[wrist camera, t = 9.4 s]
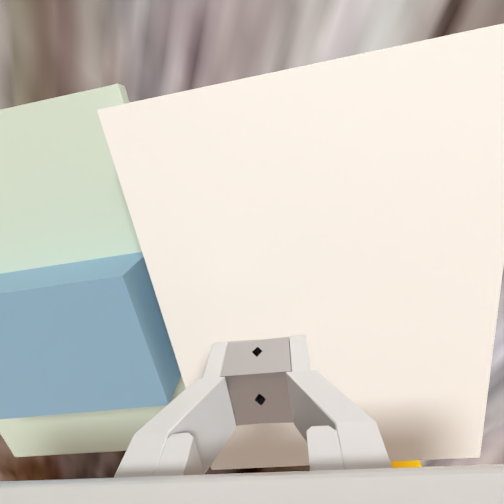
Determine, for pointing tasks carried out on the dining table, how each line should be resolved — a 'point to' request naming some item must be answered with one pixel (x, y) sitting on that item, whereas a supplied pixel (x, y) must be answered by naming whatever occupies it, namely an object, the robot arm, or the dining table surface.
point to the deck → (334, 231)
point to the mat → (64, 238)
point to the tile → (83, 339)
